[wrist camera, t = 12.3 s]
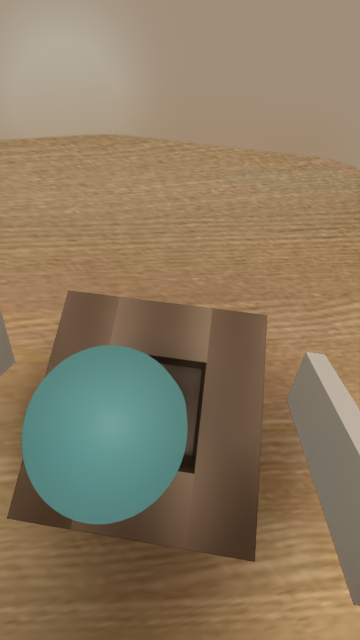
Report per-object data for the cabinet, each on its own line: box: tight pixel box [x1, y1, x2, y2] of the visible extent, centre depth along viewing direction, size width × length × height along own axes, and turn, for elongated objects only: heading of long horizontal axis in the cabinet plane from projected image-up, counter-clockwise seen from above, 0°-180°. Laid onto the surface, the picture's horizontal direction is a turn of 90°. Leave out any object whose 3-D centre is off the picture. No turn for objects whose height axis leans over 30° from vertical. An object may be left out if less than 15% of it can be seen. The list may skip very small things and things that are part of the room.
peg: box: [22, 345, 188, 524], centre depth 12 cm, size 4×4×12 cm
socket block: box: [7, 291, 267, 562], centre depth 16 cm, size 12×12×5 cm
